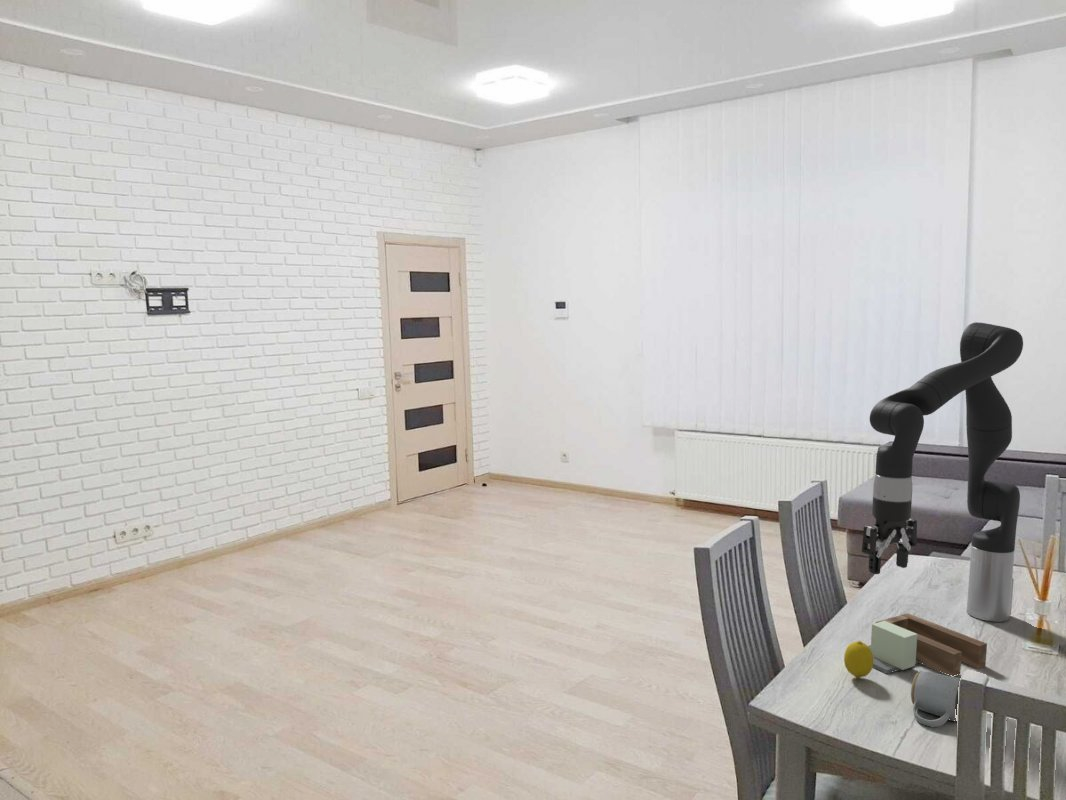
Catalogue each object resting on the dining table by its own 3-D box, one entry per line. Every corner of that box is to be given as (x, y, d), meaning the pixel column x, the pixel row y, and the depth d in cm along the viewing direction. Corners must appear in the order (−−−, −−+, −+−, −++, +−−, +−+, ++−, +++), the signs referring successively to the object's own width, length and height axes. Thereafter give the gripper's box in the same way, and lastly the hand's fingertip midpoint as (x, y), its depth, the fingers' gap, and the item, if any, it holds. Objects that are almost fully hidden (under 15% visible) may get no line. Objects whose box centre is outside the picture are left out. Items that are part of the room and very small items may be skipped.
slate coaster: (878, 646, 181) (878, 642, 181) (918, 663, 172) (918, 660, 172) (847, 655, 176) (847, 651, 176) (886, 673, 168) (887, 670, 168)
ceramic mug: (920, 698, 157) (922, 661, 156) (966, 712, 152) (969, 674, 151) (901, 720, 150) (903, 680, 149) (949, 735, 144) (952, 695, 143)
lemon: (874, 685, 162) (876, 647, 161) (845, 683, 164) (847, 645, 163) (869, 673, 168) (871, 636, 167) (841, 671, 169) (843, 634, 168)
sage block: (882, 651, 177) (884, 620, 176) (915, 665, 170) (917, 633, 169) (870, 655, 175) (872, 624, 174) (902, 669, 168) (904, 637, 167)
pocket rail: (906, 633, 188) (908, 613, 187) (985, 666, 171) (987, 643, 171) (874, 643, 183) (875, 622, 182) (952, 677, 166) (954, 654, 165)
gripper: (884, 504, 164) (880, 581, 166) (930, 495, 170) (925, 569, 172) (854, 496, 170) (850, 570, 172) (899, 488, 177) (895, 559, 179)
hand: (888, 569), depth 172 cm, fingers open, 8 cm apart
